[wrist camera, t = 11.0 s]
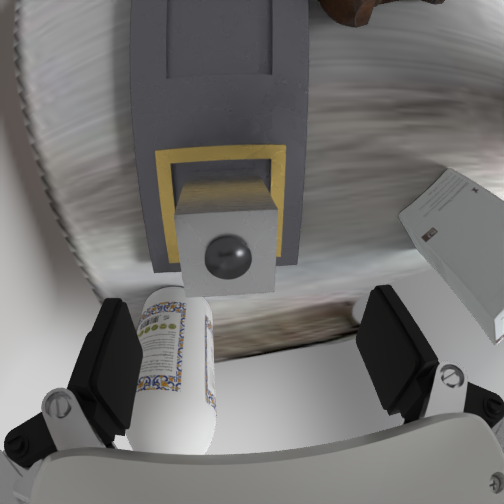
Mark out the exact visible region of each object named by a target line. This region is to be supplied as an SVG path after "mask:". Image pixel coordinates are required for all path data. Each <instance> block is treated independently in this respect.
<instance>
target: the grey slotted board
mask: <svg viewBox="0 0 504 504" xmlns="http://www.w3.org/2000/svg"><path fill="white" fill-rule="evenodd" d="M308 77H309V5H308V0H132V3H131V23H130V86H131V107H132V123H133V135H134V146H135V156H136V165H137V174H138V182H139V189H140V196H141V203H142V210H143V216H144V222H145V228H146V234H147V240H148V245H149V251H150V256H151V261H152V266H153V271H154V273H163V272H182V271H181V265H180V258H179V251H178V244H177V237H176V229H175V221H174V213H175V210H176V207H177V203H178V200H179V197H180V194H181V191H182V188H183V185H184V182H185V179H186V176H187V173H188V172H196V171H212V170H233V169H257V171H258V172H259V174H260V176H261V178H262V180H263V182H264V184H265V186H266V187H267V189H268V191H269V193H270V195H271V197H272V199H273V201H274V203H275V205H276V206H277V208H278V225H277V247H276V266H283V265H297V260H298V250H299V239H300V227H301V215H302V202H303V188H304V173H305V156H306V136H307V112H308Z"/></svg>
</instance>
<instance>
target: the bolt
mask: <svg viewBox="0 0 504 504" xmlns="http://www.w3.org/2000/svg"><path fill="white" fill-rule="evenodd" d="M318 1H319V3H320V5H321V6H322V8H323V9H324V11H325V12H326V13H327V14H328V15H329V16H330V17H331V18H332V19H333V20H335V21H336V22H337V23H339V24H342V25H345V26H350V27H356V28H357V27H360V26H363V25H367V24H368V22H369V19H370V16H371V13H372V10H373V7H375V6H377V5H379V4H384V3H390V2H393V1H399V0H318ZM422 1H425V2H428V3H431V4H442V3H443V2H444V1H445V0H422Z"/></svg>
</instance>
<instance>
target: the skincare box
mask: <svg viewBox="0 0 504 504" xmlns="http://www.w3.org/2000/svg"><path fill="white" fill-rule="evenodd" d="M398 217H399V219H400V220H401V222H402V224H403V226H404V227H405V229H406V231H407V233H408V234H409V236H410V238H411V240H412V242H413V243H414V245H415V247H416V249H417V250H418V251H419V252H420V253H421V255H422V256H423V257H424V258H425V259H426V260H427V261H428V262H429V263H430V264H431V266H432V267H433V268H434V269H435V270H436V271H437V272H438V274H439V275H440V276H441V277H442V278H443V279H444V280H445V282H446V283H447V284H448V285H449V286H450V288H451V289H452V290H453V291H454V292H455V294H456V295H457V296H458V297H459V299H460V300H461V301H462V303H463V304H464V305H465V306H466V307H467V309H468V310H469V311H470V313H471V314H472V315H473V317H474V318H475V319H476V321H477V322H478V323H479V324H480V326H481V327H482V329H483V330H484V332H485V333H486V334H487V336H488V337H489V339H490V340H491V341H492V343H493V344H494V345H497V344H498V343H499V342H500V341H501V340H502V339H504V201H503V200H501V199H500V198H499V197H497V196H496V195H494V194H493V193H491V192H490V191H488V190H487V189H485V188H483V187H482V186H480V185H479V184H477V183H476V182H474V181H472V180H471V179H469V178H467V177H466V176H464V175H462V174H461V173H459V172H457V171H455V170H454V169H452V168H448V169H447V170H446V171H445V172H444V173H443V174H442V176H441V177H440V178H439V179H438V180H437V181H436V182H435V183H434V184H433V185H432V186H431V187H430V188H429V189H427V190H426V191H425V192H424V193H423V194H422V195H421V196H420V197H419V198H418V199H416V200H415V201H414V202H413V203H412V204H410V205H409V206H408V207H407V208H405V209H404V210H403V211H402V212H400V214H399V215H398Z"/></svg>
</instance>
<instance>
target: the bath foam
mask: <svg viewBox="0 0 504 504" xmlns="http://www.w3.org/2000/svg"><path fill="white" fill-rule="evenodd" d="M137 336H138V338H139V341H140V344H141V346H142V349H143V360H142V364H141V369H140V374H139V379H138V384H137V390H136V395H135V401H134V406H133V412H132V418H131V424H130V428H129V429H126V431H125V433H126V436H127V438H128V440H129V443H130V445H131V446H132V448H133V450H134V451H140V452H151V453H166V454H185V455H204V454H205V453H206V451H207V449H208V448H209V446H210V444H211V441H212V439H213V435H214V431H215V425H216V399H215V379H214V352H213V322H212V311H211V308H210V306H209V304H208V303H207V301H206V300H205V299H204V298H203V297H190V298H186V296H185V290H184V288H182V287H166V288H162V289H159V290H157V291H155V292H154V293H152V294H151V295H150V296H149V297H148V298H147V300H146V302H145V304H144V307H143V310H142V314H141V318H140V322H139V326H138V330H137Z"/></svg>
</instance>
